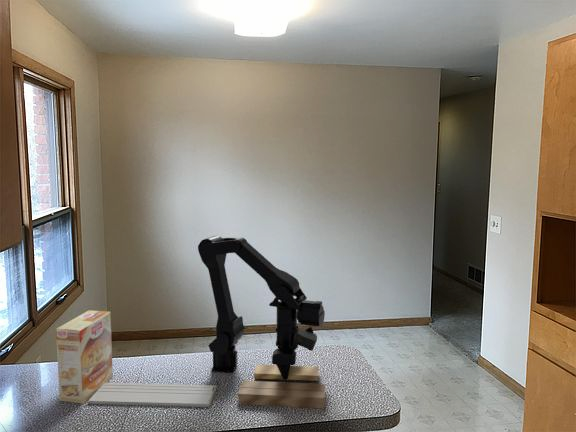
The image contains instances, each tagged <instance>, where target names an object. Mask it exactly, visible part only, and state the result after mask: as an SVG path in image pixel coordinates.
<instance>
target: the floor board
mask: <svg viewBox="0 0 576 432" xmlns="http://www.w3.org/2000/svg"><path fill="white" fill-rule="evenodd" d="M237 394H238V395H237V397H238V398H237V402H238V403H237V404H238V405H247V404H249V406H250V405H252V404H253V406H269V407H270V406H271V407H287V406H288V407H289V408H292V407H293V408H308V409H309V408H310V409H325V407H326V384H324V383H323V384H322V383H304V382H303V383H302V382H301V383H300V382H283V381H282V382H281V381H264V380H263V381H261V380H242V382H241V385H240V388H239V390H238V393H237Z"/></svg>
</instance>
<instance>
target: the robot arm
mask: <svg viewBox="0 0 576 432" xmlns="http://www.w3.org/2000/svg"><path fill="white" fill-rule="evenodd" d="M197 250H198V251H197V252H198V254H199V257H200V259H201V262H202V263H203V264H204V265H205V267H206V268H207V271H208V274H209V279H210V285H211V288H212V293H213V299H214V304H215V308H216V313H217V320H216V324H215V336H216V337H215V338H214V340H212V341H211V342H210V343H209V344H208V348H209V351H210V352H211V353H212V367H211V369H210V370H211V372H219V373H221V372H222V373H223V372H224V373H233V372H234V370H235V369H236V368H237V366H238V363H239V362H238V351H237V350H236V344H238V342H239V340H240V339H241V338H242V337H243V336H244V330H245V329H246V327H245V325H244V321H243V320H244V319H243V316H242V315H241V316H238V315H237V314H236V313H235V311H234V306H233V305H234V304H233V301H232V295H231V290H230V285H229V280H228V276H227V271H226V259H227V254H235V255H236V256H237V257H239V258H240V259H241V260H242V261H243V262H244V263H245V264H247V266H249V267H250V268H251V269H252V270H253V271H254V272H255V273H256V274H258V275H259V276H260V277H261V278H262V279H263V280H264V281H265V283H266V285H267V287H268V289H269V290H270V292H271V293H272V294H273V295H274V299H273V300H272V301H271V302H270V303H269V304H268V306H269V307H272V308H273V307H274V308H276V327H275V332H276V340H275V347H277V348H275V350H274V351H273V352H272V356H271V365H277V367H278V369H279V371H280V373H281V375H282V377H283V379H284V380H283V381H288V380H287V379H288V375H289V370H290V366H296V362H297V352H296V350H297V349H298V348H299V346H300V347H302V348H305V349H307V350H308V351H314V350H315V346H316V344H317V341H318V335H317V334H316V333H315V331H314V327H318V328H322V327H323V325H324V321H325V315H326V314H325V309H324V305H323V301H321V300H320V301H319V300H307V299H308V297H307V296H306V294H305V292H303V290H302V288H301V287H300V282H299V280H298V278H296V277H295V276H293V275H291V274H290V273H288V272H286V271H284V270H282V269H279V268H278V267H276V266H275V265H274V264H272V263H271V262H270V261H269V260H268V259H267V258H266V257H265V256H264V255H262V253H260V252H259V251H258V250H257V249H256V248H255V247H253V246H252V245H251V244H250V243H249V242H248V241H247V239H246V238H245V237H242V236H239V237H222V236H221V235H212V236H210V237H206V238H204V239H202V240H201V241H200V242H199V244H198V246H197ZM299 324H300V325H301V326H307V327H305V328H302V329H301V328H299Z"/></svg>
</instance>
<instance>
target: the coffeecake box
mask: <svg viewBox="0 0 576 432" xmlns="http://www.w3.org/2000/svg"><path fill="white" fill-rule="evenodd" d="M111 317H112V316H111V311H109V310H92V309H90V310H87V311H85V312H83V313H82V314H80V315H78V316H76V317H74V318H72V319H71V320H69V321H67V322H66V323H63V324H62V325H61V326H59V327H56V329H55V336H56V337H55V338H56V340H55V341H56V353H57V354H56V355H57V358H56V359H57V374H58V375H57V376H58V387H59V388H58V393H59V394H58V395H59V402H68V403H75V404H85V403H86V402H88V400H89V399H90V398H91V397H92V396H93V395H94V394H95V393H96V392H97V390H98V389H99V388H100V387H101V386H102V384H103V383H109V381H110V380H111V379H112V378H113V377H114V369H113V365H114V364H113V347H112V345H113V344H112V343H113V342H112V322H111V321H112V319H111Z"/></svg>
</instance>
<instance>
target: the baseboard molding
mask: <svg viewBox="0 0 576 432" xmlns="http://www.w3.org/2000/svg"><path fill="white" fill-rule="evenodd" d="M218 385H219V382H218V381H216V382H215V384H214V385H211V384H210V385H209V384H176V383H175V384H174V383H173V384H172V383H171V384H170V383H169V384H168V383H167V384H166V383H135V382H134V383H131V382H130V383H128V382H122V383H121V382H107V383H103V384H102V386H101V387H100V388H99V389H98V390H97V392H96V393H95V394H93V395H92V396H91V397H90V398H89V399H88V400H87V402H88V405H89V404H90V405H122V406H124V405H127V406H128V405H129V406H154V407H155V406H156V407H160V406H161V407H163V406H164V407H197V408H199V407H200V408H206V407H207V408H210V406H211V404H212V401H213V398H214V395H215V393H216V390H217V388H218Z"/></svg>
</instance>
